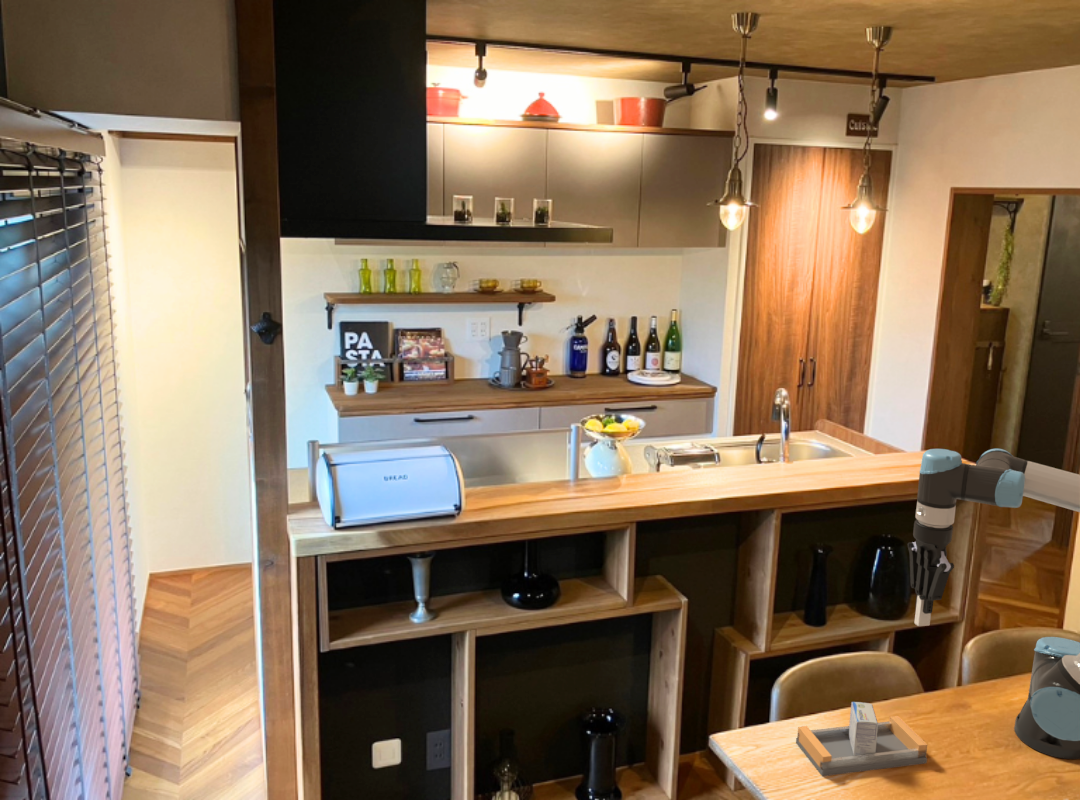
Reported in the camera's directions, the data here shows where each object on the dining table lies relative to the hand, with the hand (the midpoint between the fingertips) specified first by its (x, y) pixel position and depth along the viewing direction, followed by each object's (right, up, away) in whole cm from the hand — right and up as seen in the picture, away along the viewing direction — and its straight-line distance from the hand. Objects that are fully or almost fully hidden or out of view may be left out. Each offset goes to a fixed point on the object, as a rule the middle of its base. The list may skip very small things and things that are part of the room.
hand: (921, 624), depth 193 cm
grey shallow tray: (-14, -27, -2) cm, 31 cm away
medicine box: (-14, -26, -2) cm, 30 cm away
